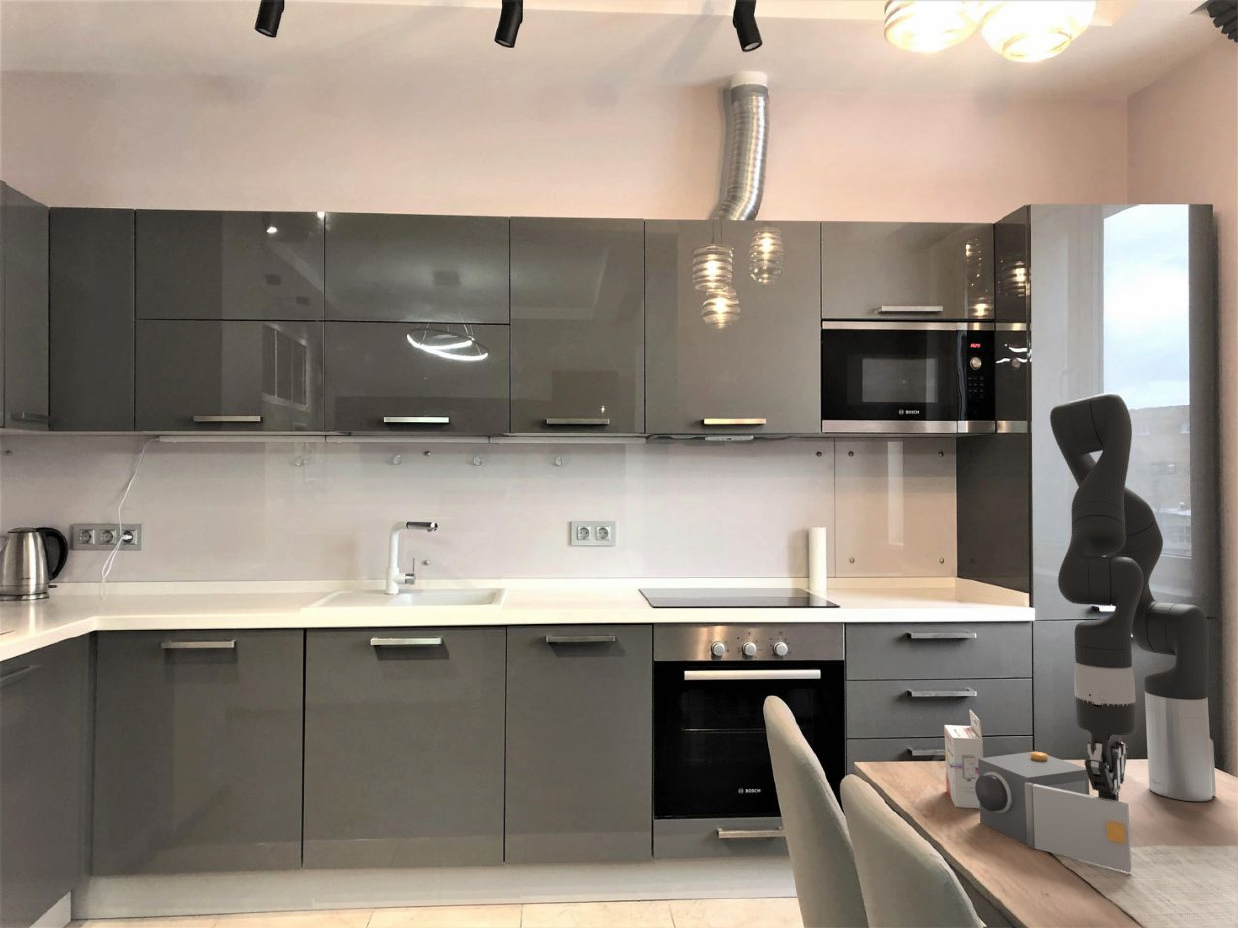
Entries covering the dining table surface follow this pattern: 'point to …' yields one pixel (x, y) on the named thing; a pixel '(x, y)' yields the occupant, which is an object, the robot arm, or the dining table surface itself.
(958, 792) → the ink cartridge box
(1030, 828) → the side door
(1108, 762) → the robot arm
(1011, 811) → the camera body
